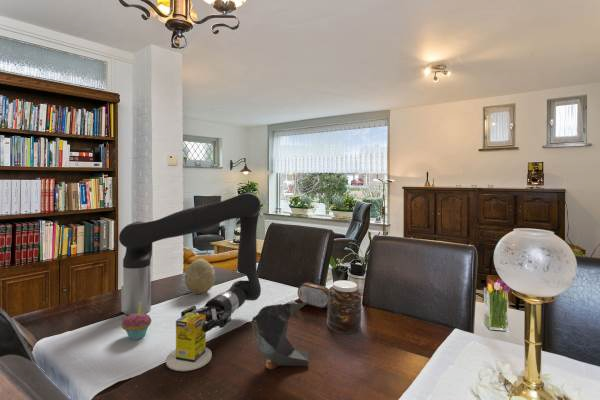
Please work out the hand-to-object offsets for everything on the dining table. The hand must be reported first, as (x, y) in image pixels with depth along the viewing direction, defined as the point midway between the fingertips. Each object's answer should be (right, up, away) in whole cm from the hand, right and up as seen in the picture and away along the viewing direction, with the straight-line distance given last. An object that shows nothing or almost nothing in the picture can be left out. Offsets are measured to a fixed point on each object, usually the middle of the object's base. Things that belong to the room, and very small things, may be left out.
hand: (191, 326), depth 95 cm
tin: (+36, -7, +42) cm, 56 cm away
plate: (0, -9, 0) cm, 9 cm away
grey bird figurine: (+25, -10, -1) cm, 27 cm away
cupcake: (-21, -8, +13) cm, 26 cm away
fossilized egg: (-13, -5, +53) cm, 55 cm away
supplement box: (0, -8, 0) cm, 8 cm away
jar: (+45, -9, +23) cm, 52 cm away
